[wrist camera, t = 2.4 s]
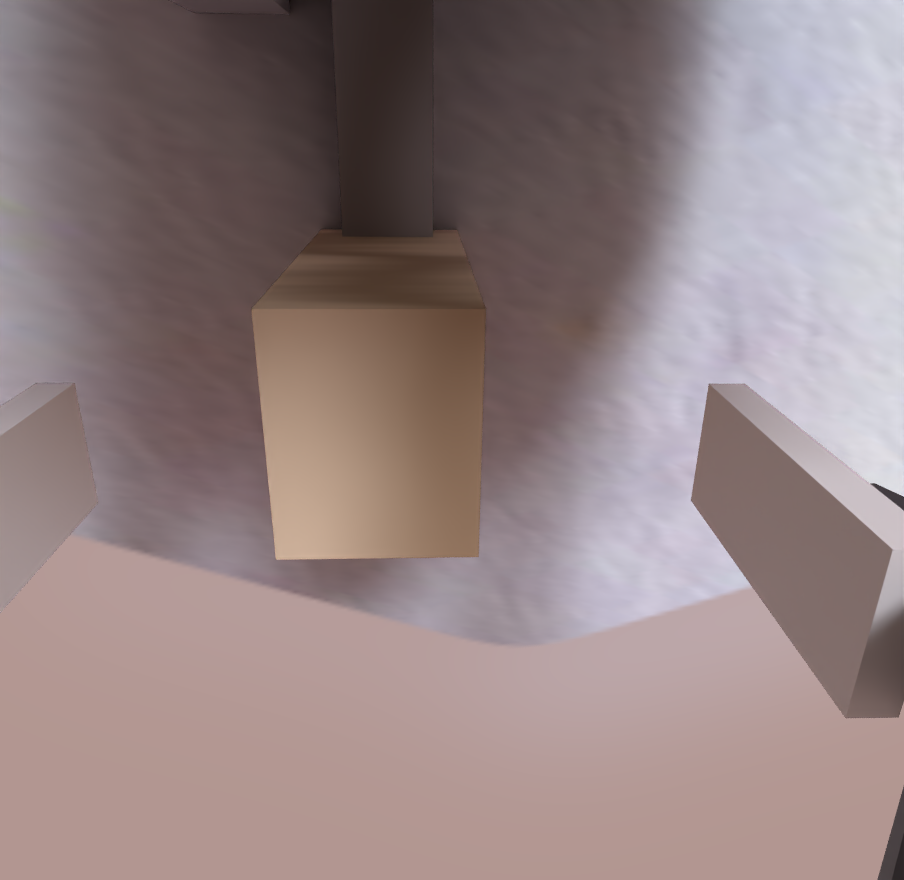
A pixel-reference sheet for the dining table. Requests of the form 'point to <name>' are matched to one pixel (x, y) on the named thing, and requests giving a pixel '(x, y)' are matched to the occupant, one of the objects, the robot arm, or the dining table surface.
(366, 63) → the wooden toy block
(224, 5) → the cabinet
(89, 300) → the dining table surface
